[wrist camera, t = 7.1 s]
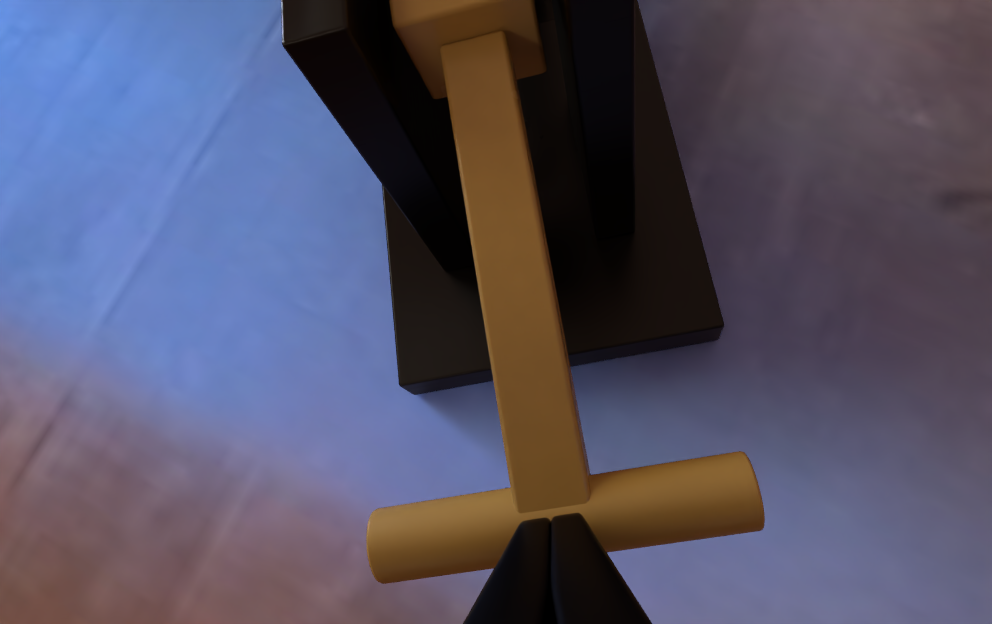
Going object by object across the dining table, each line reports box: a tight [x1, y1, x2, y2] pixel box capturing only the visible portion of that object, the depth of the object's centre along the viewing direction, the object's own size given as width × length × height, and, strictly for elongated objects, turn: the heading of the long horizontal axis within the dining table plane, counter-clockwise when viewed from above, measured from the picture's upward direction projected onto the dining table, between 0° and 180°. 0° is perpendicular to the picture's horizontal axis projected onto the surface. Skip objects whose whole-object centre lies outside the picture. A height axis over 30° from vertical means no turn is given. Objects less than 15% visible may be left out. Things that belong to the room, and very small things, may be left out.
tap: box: [281, 0, 724, 395], centre depth 14 cm, size 10×8×10 cm
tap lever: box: [367, 0, 765, 584], centre depth 11 cm, size 11×6×2 cm, turn 7°
